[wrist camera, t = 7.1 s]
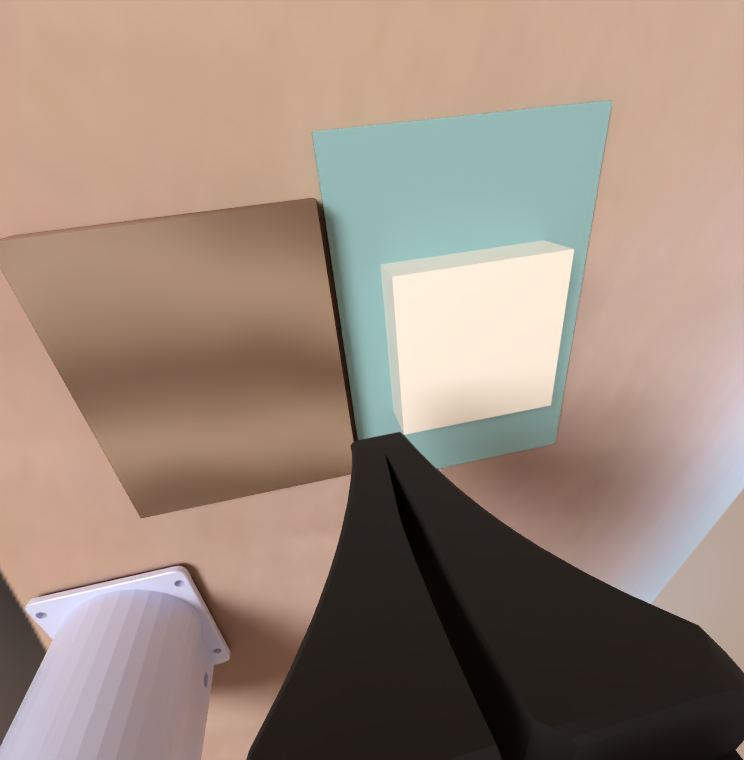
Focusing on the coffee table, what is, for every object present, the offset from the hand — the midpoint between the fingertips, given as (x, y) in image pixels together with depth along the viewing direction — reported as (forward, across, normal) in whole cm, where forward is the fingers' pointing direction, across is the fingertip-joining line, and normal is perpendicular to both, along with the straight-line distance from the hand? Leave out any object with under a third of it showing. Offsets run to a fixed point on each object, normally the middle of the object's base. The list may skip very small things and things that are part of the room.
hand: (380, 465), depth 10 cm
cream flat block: (+8, -5, 0) cm, 9 cm away
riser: (+8, +5, 0) cm, 9 cm away
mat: (+8, -6, 0) cm, 10 cm away
